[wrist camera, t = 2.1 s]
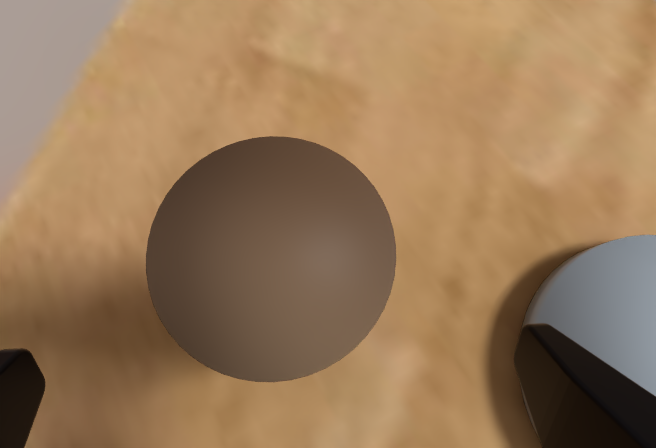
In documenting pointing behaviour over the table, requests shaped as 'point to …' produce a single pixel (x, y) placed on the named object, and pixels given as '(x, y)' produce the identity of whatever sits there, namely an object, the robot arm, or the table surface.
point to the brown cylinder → (271, 259)
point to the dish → (606, 305)
